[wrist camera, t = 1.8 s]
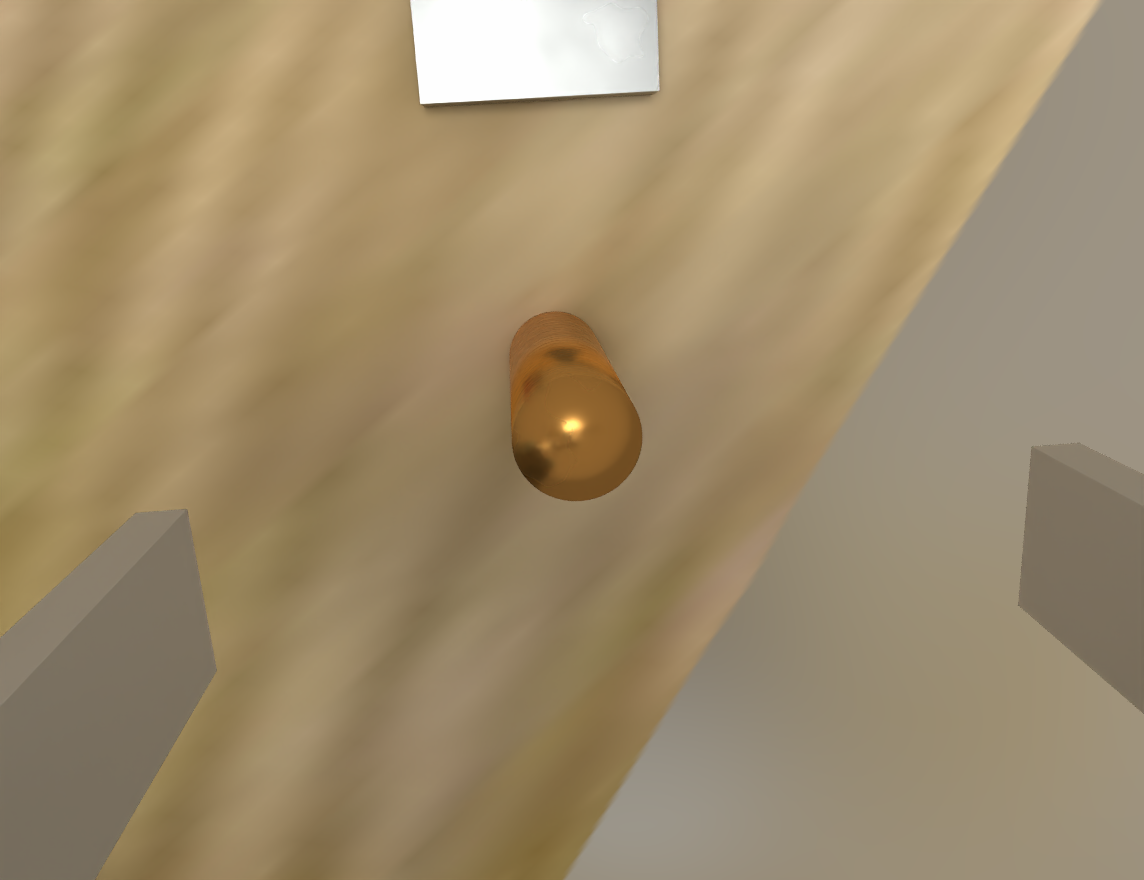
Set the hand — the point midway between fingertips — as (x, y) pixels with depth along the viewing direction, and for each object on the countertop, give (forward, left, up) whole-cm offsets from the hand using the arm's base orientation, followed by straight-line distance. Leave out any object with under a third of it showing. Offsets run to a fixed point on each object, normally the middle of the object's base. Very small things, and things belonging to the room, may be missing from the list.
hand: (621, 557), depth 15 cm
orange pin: (0, 0, -17) cm, 17 cm away
